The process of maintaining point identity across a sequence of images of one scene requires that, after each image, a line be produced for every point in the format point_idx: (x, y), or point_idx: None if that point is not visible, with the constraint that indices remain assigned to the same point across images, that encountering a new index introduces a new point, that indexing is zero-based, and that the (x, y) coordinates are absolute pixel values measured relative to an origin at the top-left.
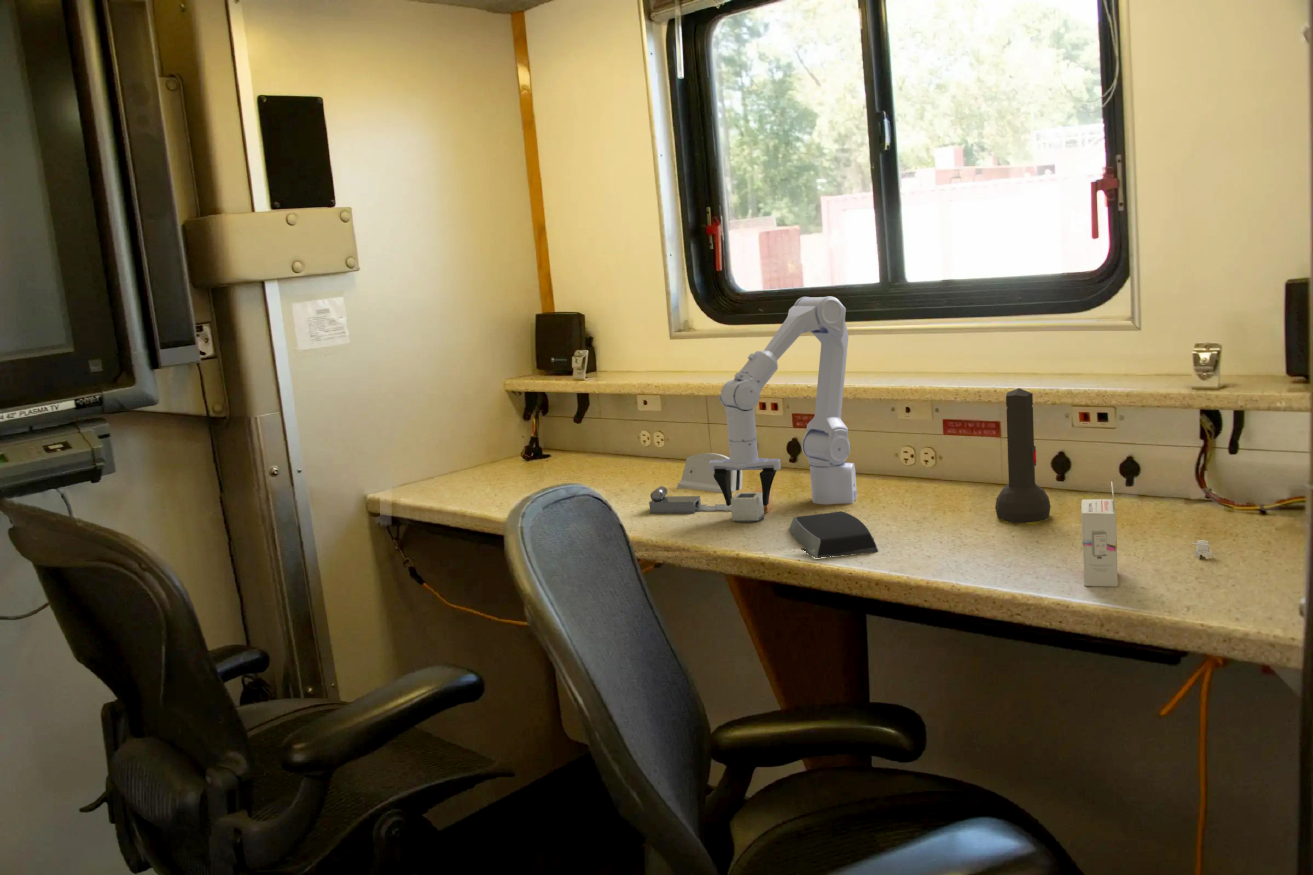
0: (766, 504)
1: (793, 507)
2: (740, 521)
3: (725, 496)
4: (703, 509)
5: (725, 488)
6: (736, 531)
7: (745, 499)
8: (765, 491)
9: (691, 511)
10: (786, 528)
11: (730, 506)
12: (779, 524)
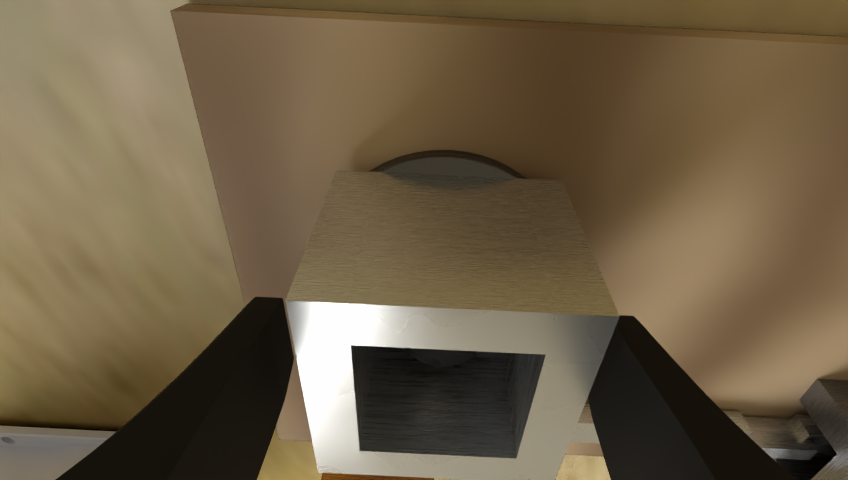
0: (248, 304)
1: (275, 450)
2: (489, 164)
3: (682, 383)
4: (751, 422)
5: (726, 472)
6: (508, 13)
7: (428, 301)
8: (171, 403)
9: (844, 391)
10: (104, 90)
11: (588, 432)
12: (213, 196)
